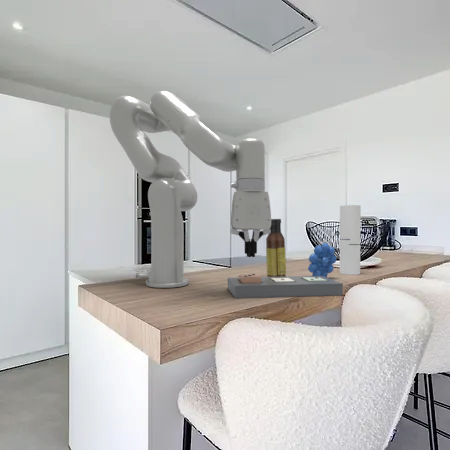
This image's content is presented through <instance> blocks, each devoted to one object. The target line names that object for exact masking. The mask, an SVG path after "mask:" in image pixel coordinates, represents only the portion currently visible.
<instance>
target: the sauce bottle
mask: <svg viewBox="0 0 450 450" xmlns="http://www.w3.org/2000/svg"><path fill="white" fill-rule="evenodd" d="M281 224H282V219H281V218H271V227H270V230H271V233H270V234H267V237H266V238H265V244H266V247H265V251H266V252H265V253H266V277H287V276H286V274H287V266H286V265H287V261H286V260H287V259H286V258H287V257H286V242H285V237H284V235H283V233H282V229H281V228H282V227H281Z"/></svg>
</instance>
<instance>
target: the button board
mask: <svg viewBox="0 0 450 450" xmlns="http://www.w3.org/2000/svg"><path fill="white" fill-rule="evenodd" d="M303 277H320V278H323V279H325V280H327V281H326V282H308V281H305V280H303V279H302V278H303ZM271 278H290V279H292V280H294V281H295V282H281V283H275V282H273V281H272V280H271ZM343 285H344V284H343V282H340V281H337V280H334V279H331V278H330V277H328V276H327V277H324V276H312V275H304V276H301V275H300V276H297V275H296V276H288V275H287V276H286V277H267V276H261V283H240V282H239V276H237V277H227V289H228V291H229V292H230V294H231V293H232V294H231V295H232V297H234V299H254V298H258V297H260V298H288V296H295V297H320V296H321V297H325V296H327V297H328V296H343V295H344V294H343V293H344V292H343V291H344V290H343V289H344V287H343Z"/></svg>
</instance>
